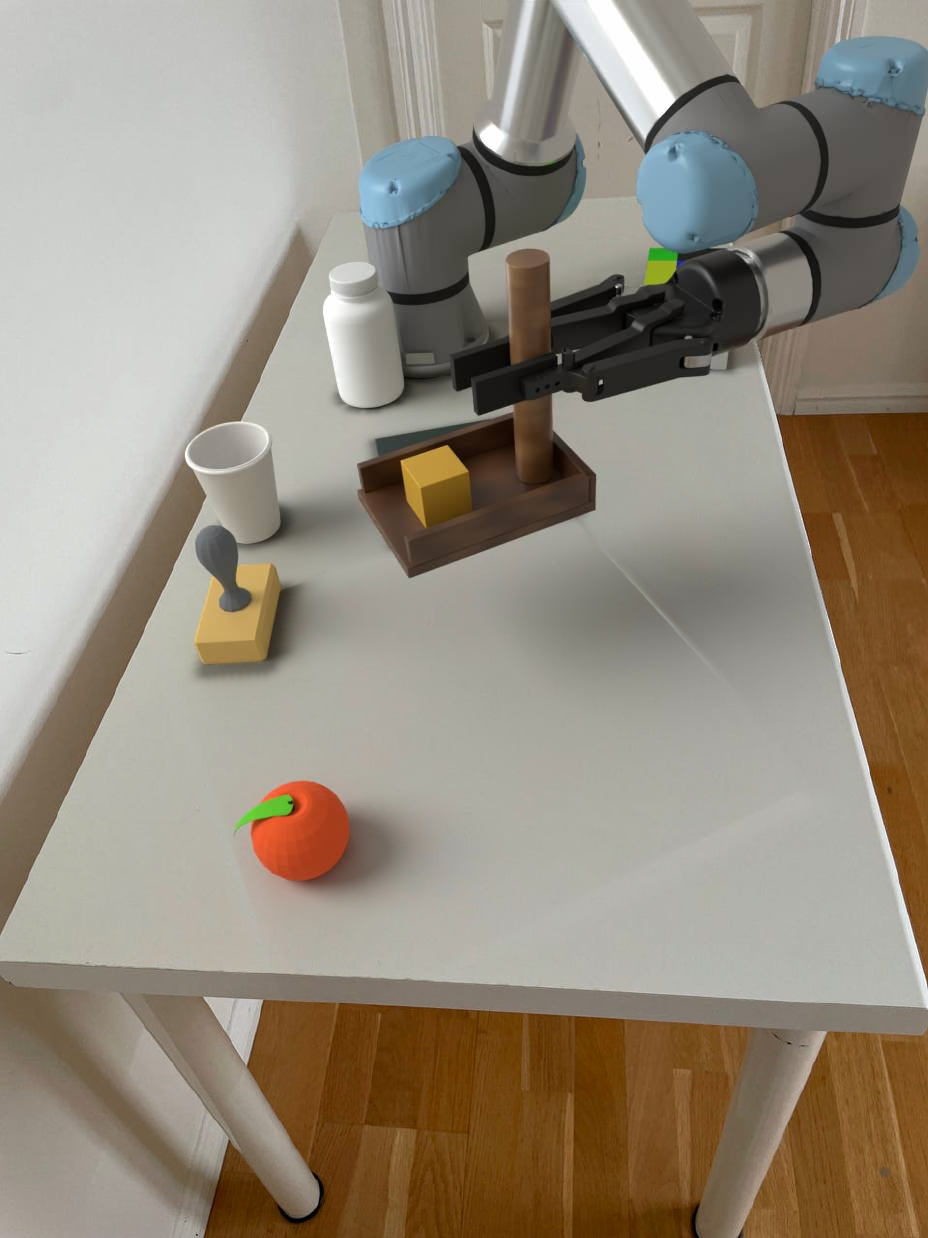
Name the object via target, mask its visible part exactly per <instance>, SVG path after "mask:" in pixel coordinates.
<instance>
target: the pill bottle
mask: <svg viewBox="0 0 928 1238" xmlns="http://www.w3.org/2000/svg"><path fill="white" fill-rule="evenodd" d="M328 281H329V286H330V294H329V295H328V296H327V297H326V298H325V300H324V303H323V307H322V315H323V320H324V327H325V331H326V336H327V340H328V346H329V350H330V355H331V360H332V365H333V370H334V375H335V380H336V385H337V391H338V393H339V397H340V398H341V400H342V402H344V403H345V404H347V405H348V406H351V407H354V408H359V409H370V408H378V407H382V406H384V405H388V404H390V403H392V402H394V401H396V400H397V399H398V398H400V396H401V395H402V394H403V392H404V389H405V379H404V378H405V377H403V370H402V363H401V356H400V349H399V342H398V335H397V328H396V321H395V314H394V307H393V302H392V299H391V297H390V295H389V294H388V292H387V291H385V290H384V289H383V288H381V287H379V286H378V274H377V269H376V268H375V267H374V266H373V265H372V264H370V262H365V261H351V262H350V261H349V262H346V263H343V264H342V263H341V264H340V265H337V266H335V267H333V268H332V269H331V271H330V272H329V274H328Z"/></svg>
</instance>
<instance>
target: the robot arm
mask: <svg viewBox="0 0 928 1238" xmlns="http://www.w3.org/2000/svg"><path fill="white" fill-rule="evenodd" d="M501 27H502V28H501V34H500V41H499V47H498V54H497V60H496V66H495V73H494V79H493V85H492V92H491V97H490V98H488V99H487V100H486V101H484V102H483V103H482V104H481V105H480V106H479V107H478V108H477V110H476V113H475V115H474V119H473V125H472V133H471V139H470V140H469V141H468V142H465V143H462V144H458V145H457V144H456V143H455V142H454V141H453V140H451V139H449V138H446V137H444V136H437V135H425V136H423V137H420V138H418V139H416V137H412V138H408V139H404V140H401V141H398V142H395V143H393V144H391V145H388V146H386V147H385V148H383V149H381V150H379V151H378V152H376V153H375V154H374V155H373V156H371V157H369V158H368V160H367V161H366V162H365V164H364V165H363V168H362V169H361V171H360V173H359V175H358V180H357V181H358V183H357V184H358V195H359V196H358V197H359V216H360V218H361V221H362V226H363V227H362V228H363V232H364V238H365V244H366V250H367V256H368V261H369V262H368V263H369V264H372V265H373V266H374V267H375V268H376V269H377V274H378V286H379V287H381V288H383V289H384V290H385V291H387V292H388V294H389V295H390V297H391V299H392V302H393V307H394V314H395V321H396V328H397V335H398V342H399V349H400V356H401V363H402V370H403V377H404V378H411V379H413V378H414V379H423V378H424V379H427V378H435V377H442V376H447V375H451V384H452V388H453V390H454V391H455V392H456V393H458V392H461V391H465V390H468V389H471V392H472V404H473V412H474V413H475V414H476V415H477V416H478V417H480V416H483V415H486V414H489V413H492V412H495V411H498V410H501V409H504V408H507V407H510V406H513V404H516V403H519V402H522V401H525V400H526V401H529V400H535V399H538V398H540V397H544V396H547V395H550V394H552V395H553V394H556V393H559V392H564V393H566V394H573V393H579V394H581V399H582V401H584V402H586V403H594V402H598V401H601V400H605V399H608V398H612V397H616V396H619V395H623V394H626V393H630V392H633V391H638V390H641V389H645V388H647V387H651V386H654V385H655V386H656V385H659V384H663V383H666V382H670V381H673V380H677V379H681V378H695V377H706V376H708V375H709V374H710V373H711V369H710V366H711V358H712V357H713V356H716V355H719V354H722V353H725V352H728V353H729V352H731V351H733V350H736V349H739V348H742V347H744V346H746V345H748V343H749V344H750V343H754V342H759V341H761V340H763V339H767V338H770V337H772V336H775V335H778V334H781V333H783V332H786V331H789V330H793V329H795V328H800V327H803V326H805V325H809V324H812V323H816V322H818V321H821V320H824V319H828V318H831V317H834V316H837V315H841V314H843V313H847V312H851V311H855V310H860V309H862V308H864V307H867V306H870V305H871V304H873V303H874V302H875V303H876V302H877V301H879V300H881V299H884V298H886V297H887V296H888V297H889V296H890V295H892V294H894V293H896V292H898V291H899V290H900V289H902V288H903V287H905V285H907V283H908V282H909V281H910V280H911V279H912V277H913V276H914V274H915V272H916V270H917V267H918V265H919V261H920V257H921V249H922V248H921V247H920V246H919V241H918V236H919V234H920V231H919V227H918V224H917V222H916V220H915V217H914V216H913V215H912V213H911V212H910V211H909V210H908V209H907V208H906V206H905V207H904V206H903V205H902V204H901V202H902V198H903V195H904V191H905V187H906V183H907V180H908V176H909V172H910V169H911V164H912V161H913V155H914V152H915V149H916V145H917V141H918V138H919V135H920V131H921V130H920V129H921V125H922V121H923V118H924V117H925V115H926V110H927V109H926V107H925V105H926V99H927V94H928V49H927V48H926V47H925V46H923V45H922V44H921V43H918V42H916V41H914V40H911V39H908V38H903V37H896V36H886V35H868V36H859V37H853V38H852V37H851V38H847V39H844V40H841V41H838V42H836V43H834V44H833V45H831V46H830V47H829V48H828V49H827V50H826V51H825V53H823V54H822V56H821V58H820V61H819V62H820V63H819V66H818V69H817V70H818V71H817V74H816V76H815V77H814V78H813V85H814V90H811V91H807V92H805V93H803V94H800V95H796V96H793V97H791V98H787V99H784V100H781V101H778V102H775V103H772V104H769V105H767V106H763V107H758V106H756V104H755V103H754V101H753V100H752V98H751V96H750V94H749V93H748V91H747V90H746V88H745V87H744V85H742V83H741V81H740V80H739V79H738V77H737V75H736V74H735V73H734V71H733V69H732V68H731V66H730V65H729V63H728V62H727V60H726V58H725V56H724V54H722V52H721V51H720V48H719V47H718V45H717V44H716V42H715V41H714V40H713V38H712V36H711V34H710V32H709V31H708V30H707V28H706V27H705V25H704V24H703V22H702V21H701V19H700V17H699V15H698V14H697V13H696V10H694V8H693V6H692V5H691V3H690V2H689V0H506V1H505V9H504V14H503V21H502V26H501ZM583 56H584V58H585V60H586V61H587V63H588V64H589V66H590V67H591V69H592V71H593V72H594V74H595V76H596V77H597V79H598V80H599V82H600V83H601V85H602V87H603V88H604V90H605V91H606V93H607V95H608V96H609V98H610V100H611V101H612V103H613V104H614V106H615V107H616V109H617V111H618V113H619V114H620V116H621V118H622V119H623V121H624V122H625V124H626V125H627V128H628V129H629V131H630V132H631V134H632V135H633V138H634V139H635V140H636V142H637V143H638V145H639V147H640V148H641V150H642V151H643V153H644V155H645V156H643V159H642V160H641V162H640V165H639V167H638V171H637V175H636V183H635V195H636V196H635V197H636V202H637V203H638V204H639V205H640V207H641V209H642V216H641V220H642V223H643V226H644V228H645V230H646V231H647V233H648V235H650V237H651V238H652V239H653V241H655V242H656V243H657V244H659V245H660V246H661V248H665V249H667V250H669V251H672V252H675V253H682V254H684V253H692V252H695V251H699V250H703V249H707V248H716V247H718V246H723V245H728V244H731V243H734V242H736V241H739V240H740V239H741V238H742V237H744V236H745V235H747V234H750V233H753V232H755V231H758V230H760V229H763V228H766V227H768V226H770V225H772V224H775V223H778V222H780V221H783V220H786V219H788V218H792V217H794V221H793V225H792V226H791V227H787V228H786V229H782V230H780V231H778V232H773V233H770V234H766V235H764V236H761V237H757V238H754V239H750V240H747V241H744V242H741V243H737V244H733V245H730V246H728V247H726V248H727V249H726V250H718V251H715V252H712V253H708V254H705V255H702V256H699V257H695V258H692V259H689V260H687V261H685V262H683V263H682V264H681V265H680V266H679V267H678V268H677V269H676V271H675V272H674V274H673V275H672V276H671V278H670V279H669V280H668V281H667V282H666V283H662V284H652V285H645V286H644V285H643V286H641V287H639V288H635V287H631V286H628V285H625V279H626V277H625V275H623V274H620V273H615V274H612V275H610V276H608V277H607V278H606V279H604V280H603V281H601V282H600V283H599V284H595V285H594V286H590V287H588V288H587V287H586V288H585V289H582V290H580V291H577V292H574V293H571V294H569V295H566V296H562V297H559V298H558V299H554V300H552V301H551V353H548V354H545V355H542V356H539V357H535V358H532V359H529V360H526V361H523V362H520V363H517V364H514V365H511V359H510V339H509V334H508V335H505V336H503V337H500V338H499V337H498V338H496V339H493V340H490V334H489V326H488V323H487V319H486V317H485V315H484V313H483V311H482V308H481V305H480V304H479V301H478V299H477V296H476V294H475V292H474V290H473V287H472V284H471V281H470V280H471V279H470V269H469V257H471V256H473V255H475V254H477V253H480V252H483V251H487V250H490V249H492V248H496V247H498V246H501V245H505V244H508V243H511V242H513V241H517V240H520V239H523V238H526V237H529V236H532V235H536V234H540V233H543V232H546V231H548V230H549V229H551V228H553V227H554V226H556V225H558V224H561V223H562V222H564V221H566V220H567V219H569V218H570V217H571V216H572V215H573V214H574V212H575V211H576V210H577V208H578V206H579V205H580V203H581V201H582V199H583V195H584V193H585V188H586V183H587V167H586V166H584V160H585V159H586V153H585V148H584V146H583V142H582V141H581V138H580V136H579V134H578V132H577V130H576V126H575V123H574V122H573V120H572V118H571V117H570V115H569V111H570V107H571V103H572V99H573V94H574V90H575V87H576V86H575V85H576V82H577V78H578V73H579V68H580V65H581V60H582V57H583ZM559 354H561V362H560V363H559V356H558V355H559ZM600 381H602V383H600Z"/></svg>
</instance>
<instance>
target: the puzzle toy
mask: <svg viewBox="0 0 928 1238" xmlns="http://www.w3.org/2000/svg"><path fill="white" fill-rule="evenodd" d="M727 248H728V247H711V248H707V249H703V250H699V251H695V252H692V253H684V254H682V253H675V252H672V251H669V250H667V249H665V248H664V247H649V249H648V256H647V262H646V263H647V264H646V269H645V275H644V276H645V277H644V283H643V286H645V285H652V284H662V283H666V282H667V281H668V280H669V279H670V278H671V276H672V275H673V274H674V272H675V271H676V269H677V268H678V267H679V266H680V265H681V264H682V263H683V262H685V261H687V260H689V259H692V258H695V257H699V256H702V255H705V254H708V253H712V252H715V251H718V250H726V249H727ZM728 357H729V351H728V352H725V353H722V354H719V355H716V356H713V357H712V358H711V366H710V370H715V371H717V370H718V371H719V370H720V371H727V365H728Z"/></svg>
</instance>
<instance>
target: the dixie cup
mask: <svg viewBox="0 0 928 1238" xmlns="http://www.w3.org/2000/svg"><path fill="white" fill-rule="evenodd" d="M272 446H273V436H272V435H271V432H270V431H269V430H268V429H267V428H265V427H264V426H262V425H260V424H257V423H254V422H250V421H229V422H224V423H220V424H216V425H214V426H211V427H209V428H207V429H205V430H203V431H201V432H200V433H199V434H197V435H196V436H195V437H193V438H192V440H190V442H189V443H188V445H187V447H186V449H185V453H184V458H185V462H186V464H187V465H188V467H190V469H192V470H193V472H194V474H195V476H196V478H197V480H198V483H199V484H200V486H201V488H202V490H203V492H204V494H205V496H206V497H207V499H208V501H209V504H210V505H211V507H212V509H213V511H214V512H215V514H216V516H217V518H218V520H219V522H220V524H221V526H222V527H224V528H226V529H227V530H228V531H230V532H231V533H232V534H233V536H234V537H235V539H236V542H237V544H244V545H250V544H257V543H260V542H263V541H266V540H267V539H270V538H271V537H273V535H275V534H276V533H277V531H278V530H279V529H280V528H281V521H282V520H281V511H280V503H279V498H278V491H277V483H276V481H277V480H276V475H275V467H274V460H273V459H274V458H273V451H272Z"/></svg>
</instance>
